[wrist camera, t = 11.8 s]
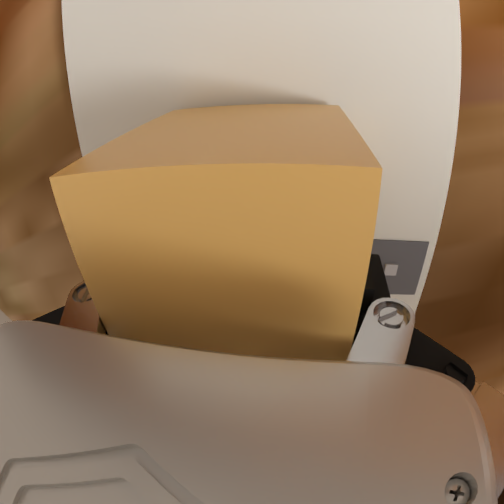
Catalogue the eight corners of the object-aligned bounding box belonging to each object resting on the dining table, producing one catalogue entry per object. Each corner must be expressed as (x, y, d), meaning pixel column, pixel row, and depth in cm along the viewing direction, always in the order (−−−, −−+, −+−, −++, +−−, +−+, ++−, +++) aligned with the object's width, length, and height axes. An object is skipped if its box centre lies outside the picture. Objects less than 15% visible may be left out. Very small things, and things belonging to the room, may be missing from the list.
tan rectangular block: (338, 105, 10) (384, 171, 4) (323, 318, 16) (320, 453, 10) (174, 110, 11) (44, 180, 5) (206, 310, 17) (161, 432, 11)
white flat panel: (419, -129, 4) (427, -140, 2) (389, 357, 19) (392, 373, 18) (80, -94, 6) (64, -100, 5) (154, 341, 21) (147, 355, 20)
